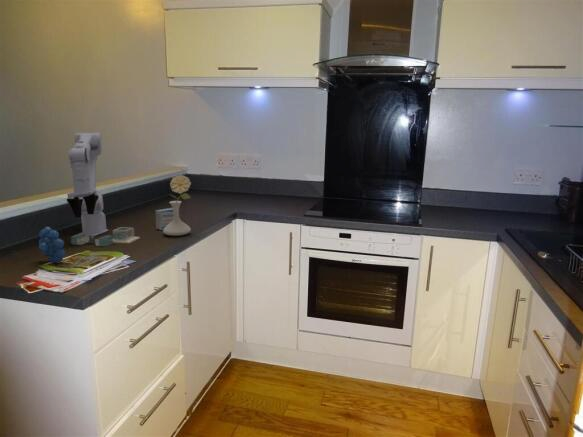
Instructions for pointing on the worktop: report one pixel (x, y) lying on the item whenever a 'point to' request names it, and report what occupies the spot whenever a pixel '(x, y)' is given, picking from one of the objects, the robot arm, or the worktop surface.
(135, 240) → the mat
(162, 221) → the medicine box
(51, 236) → the grapes
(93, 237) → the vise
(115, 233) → the grey hollow block
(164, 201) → the worktop surface
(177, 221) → the flower in vase
